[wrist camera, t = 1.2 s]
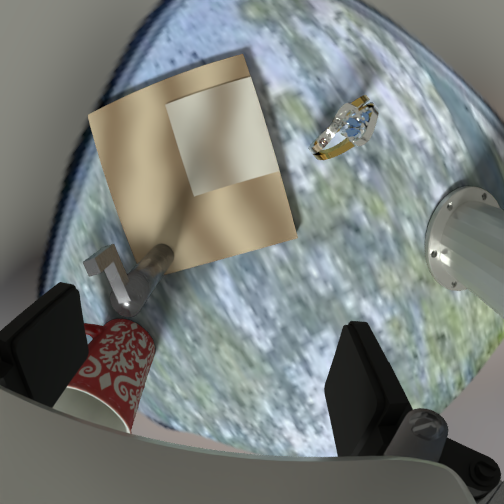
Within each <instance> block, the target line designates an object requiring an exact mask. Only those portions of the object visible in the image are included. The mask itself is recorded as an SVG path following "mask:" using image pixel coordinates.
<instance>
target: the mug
mask: <svg viewBox="0 0 504 504" xmlns="http://www.w3.org/2000/svg"><path fill="white" fill-rule="evenodd" d="M84 327H85V333H86V334H87V335H90V336H91V337H92V338H93V340H92V341H91V342H90V343H89V344H88V348H89V354H88V358H87V359H86V361H85V362H84V363H83V365H82V366H81V368H80V369H79V370H78V372H77V373H76V375H75V376H74V377H73V379H72V380H71V382H70V383H69V385H68V386H67V387H66V389H65V390H64V392H63V393H62V395H61V396H60V398H59V399H58V400H57V402H56V403H55V405H54V406H53V409H56V410H58V411H61V412H64V413H66V414H69V415H72V416H75V417H77V418H80V419H83V420H86V421H89V422H92V423H96V424H99V425H102V426H105V427H109V428H112V429H115V430H119V431H123V432H126V433H130V434H131V429H132V425H133V421H134V418H135V415H136V412H137V409H138V405H139V402H140V399H141V395H142V392H143V389H144V386H145V382H146V379H147V376H148V373H149V370H150V366H151V364H152V361H153V358H154V354H155V346H154V342H153V340H152V338H151V336H150V335H149V334H148V332H147V331H146V330H145V329H144V328H142V327H141V326H140V325H138V324H137V323H135V322H133V321H130V320H127V319H114V320H111V321H109V322H107V323H106V324H105V325H104V326H100V325H95V324H87V323H84Z"/></svg>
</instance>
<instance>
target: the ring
mask: <svg viewBox="0 0 504 504" xmlns="http://www.w3.org/2000/svg"><path fill="white" fill-rule="evenodd" d="M369 100H370V99H369V98H368V97H367V95H363V96H361V97H360V98H358V99H356V100H355V101H353V102H352V103H346V104H344V105H343V106H342V107H341V108H340V109H339V111H338V112H337V114H336V116H335V118H334V120H333V122H332V124H331V125H330V126H328V127H327V128H326V130H324V131H323V132H322V133H321V134H320V135H319V136H318V137H317V138H316V139H315V140H314V141H313V142H312V143H311V144H310V146H309V147H308V149H309V150H310V152H311V153H312V154H313V155H314V156H315V158H316V159H318V160H326V159H330V158H333V157H335V156H338V155H340V154H342V153H344V152H346V151H347V150H349V149H351V148H352V147H354V146H362V145H364V144H365V143H366V142H368V140H369V139H370V138H371V136H372V134H373V131H374V128H375V125H376V122H377V118H378V113H379V111H378V108H377V107H376V106H375V104H374V103H373V102H369V103H367V102H368V101H369ZM366 103H367V104H366ZM363 105H364V106H363ZM362 113H363V114H362ZM346 124H347V125H348V128H347V129H345V130H344V131H342V132H341V134H342V135H343V136H345V137H347V138H346V139H344V140H343V141H342V142H340V143H339V144H337V145H336V146H334V147H332V148H329V149H326V150H322V149H323V148H324V147H325V146H326V145H327V144H328V143H329V142H330V141H331V140H332V138H333V137H334V136H335V134H336V133H337V132H338V131H339V129H341V128H342V127H343V126H344V125H346ZM355 127H356V128H355ZM363 127H364V128H363ZM360 128H363V130H362V129H360ZM358 133H360V136H359V137H357V138H354V137H353V136H355V135H357V134H358Z"/></svg>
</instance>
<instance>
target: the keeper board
mask: <svg viewBox="0 0 504 504" xmlns="http://www.w3.org/2000/svg"><path fill="white" fill-rule="evenodd" d="M88 119H89V122H90V126H91V130H92V134H93V137H94V141H95V144H96V148H97V151H98V155H99V158H100V161H101V165H102V168H103V171H104V174H105V177H106V180H107V183H108V187H109V190H110V193H111V195H112V198H113V201H114V204H115V207H116V210H117V213H118V216H119V218H120V221H121V224H122V226H123V229H124V232H125V234H126V237H127V240H128V242H129V245H130V247H131V250H132V252H133V255H134V257H135V260H136V262H137V264H138V263H139V262H140V261H141V260H142V259H143V258H144V256H145V255H146V254H147V253H148V252H149V251H150V250H151V249H152V248H153V247H154V246H155V245H157V244H166V245H168V246H169V247H170V248H171V249H172V250H173V252H174V260H173V262H172V264H171V265H170V266H169V268H168V269H167V271H166V272H165V274H164V275H166V274H170V273H173V272H177V271H181V270H184V269H188V268H191V267H195V266H199V265H202V264H206V263H210V262H213V261H217V260H220V259H224V258H228V257H231V256H235V255H238V254H242V253H246V252H249V251H253V250H256V249H260V248H264V247H267V246H271V245H275V244H278V243H282V242H285V241H289V240H293V239H296V238H298V237H297V233H296V229H295V225H294V222H293V218H292V214H291V210H290V207H289V203H288V199H287V196H286V192H285V189H284V185H283V181H282V178H281V174H280V170H279V167H278V163H277V160H276V156H275V153H274V149H273V146H272V143H271V139H270V136H269V133H268V129H267V126H266V123H265V120H264V116H263V113H262V110H261V107H260V104H259V100H258V97H257V94H256V91H255V88H254V85H253V82H252V79H251V76H250V73H249V70H248V67H247V64H246V61H245V58H244V55H243V54H240V55H237V56H233V57H230V58H226V59H223V60H220V61H216V62H213V63H210V64H207V65H204V66H201V67H198V68H195V69H192V70H189V71H186V72H183V73H181V74H178V75H175V76H173V77H170V78H167V79H165V80H162V81H160V82H157V83H155V84H152V85H150V86H148V87H145V88H143V89H141V90H138V91H136V92H134V93H132V94H129V95H127V96H125V97H123V98H121V99H119V100H117V101H114V102H112V103H110V104H108V105H106V106H104V107H102V108H100V109H98V110H97V111H95V112H93V113H91V114H89V115H88Z"/></svg>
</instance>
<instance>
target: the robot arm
mask: <svg viewBox="0 0 504 504" xmlns="http://www.w3.org/2000/svg"><path fill="white" fill-rule="evenodd" d="M425 258H426V263H427V266H428V269H429V271H430V273H431V275H432V276H433V277H434V279H435V280H436V281H437V282H438V283H439V284H441V285H442V286H444V287H445V288H447V289H449V290H454V291H461V290H466V289H468V290H470V291H471V292H472V293H473V294H475V295H476V296H477V297H478V298H480V299H481V300H482V301H483V302H484V303H486V304H487V305H488V306H489V307H490V308H492V309H493V310H494V311H495V312H496V313H498V314H499V315H500V316H501V317H502V318H503V319H504V210H503V209H500V206H499V204H498V202H497V201H496V199H495V198H494V197H493V195H491V194H490V193H489V192H488V191H486V190H484V189H482V188H479V187H475V186H464V187H460V188H458V189H456V190H454V191H452V192H451V193H449V194H448V195H447V196H446V197H445V198H444V199H443V200H442V201H441V202H440V204H439V205H438V206H437V208H436V210H435V211H434V213H433V215H432V217H431V220H430V222H429V225H428V229H427V232H426V238H425ZM88 354H89V348H88V343H87V338H86V333H85V327H84V321H83V315H82V308H81V301H80V294H79V291H78V290H77V289H76V287H75V286H74V285H72V284H67V283H63V282H60V283H58V284H57V285H55V286H54V287H53V288H52V289H50V290H49V291H48V292H46V293H45V294H44V295H43V296H41V297H40V298H39V299H38V300H36V301H35V302H34V303H33V304H32V305H30V306H29V307H28V308H27V309H25V310H24V311H23V312H22V313H21V314H19V315H18V316H17V317H16V318H15V319H14V320H13V321H11V322H10V323H9V324H8V325H7V326H5V327H4V328H3V329H2V330H1V331H0V504H504V481H501V480H500V479H501V472H500V468H499V467H498V464H497V463H496V462H495V461H494V460H493V459H491V458H490V457H488V456H486V455H484V454H481V453H479V452H477V451H475V450H472V449H470V448H468V447H466V446H464V445H462V444H460V443H458V442H456V441H453V440H451V439H449V438H447V436H448V426H447V423H446V421H445V420H444V418H443V417H441V416H440V415H439V414H438V413H436V412H434V411H432V410H429V409H423V408H419V409H414V410H413V409H412V407H411V405H410V403H409V401H408V399H407V397H406V395H405V393H404V391H403V389H402V387H401V385H400V383H399V381H398V379H397V377H396V375H395V373H394V371H393V369H392V367H391V365H390V363H389V362H388V360H387V358H386V356H385V354H384V353H383V351H382V349H381V347H380V345H379V343H378V341H377V339H376V338H375V336H374V334H373V332H372V330H371V328H370V327H369V325H368V323H367V322H359V321H350V322H349V324H348V325H344V326H343V329H342V332H341V336H340V339H339V342H338V346H337V349H336V352H335V355H334V358H333V362H332V365H331V368H330V371H329V374H328V377H327V380H326V383H325V388H324V392H325V397H326V402H327V407H328V411H329V416H330V421H331V425H332V430H333V435H334V440H335V444H336V449H337V454H338V457H294V456H270V455H255V454H244V453H234V452H225V451H217V450H210V449H203V448H196V447H191V446H185V445H179V444H174V443H169V442H164V441H160V440H155V439H150V438H146V437H142V436H138V435H133V434H130V433H126V432H123V431H119V430H115V429H112V428H109V427H105V426H102V425H99V424H96V423H92V422H89V421H86V420H83V419H80V418H77V417H75V416H72V415H69V414H66V413H64V412H61V411H58V410H56V409H53V406H54V405H55V403H56V402H57V400H58V399H59V398H60V396H61V395H62V393H63V392H64V390H65V389H66V387H67V386H68V385H69V383H70V382H71V380H72V379H73V377H74V376H75V375H76V373H77V372H78V370H79V369H80V368H81V366H82V365H83V363H84V362H85V361H86V359H87V358H88Z"/></svg>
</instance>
